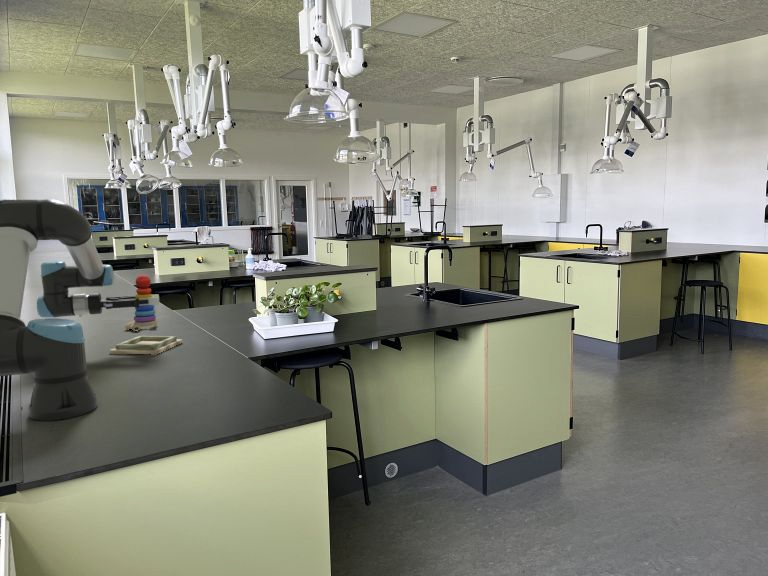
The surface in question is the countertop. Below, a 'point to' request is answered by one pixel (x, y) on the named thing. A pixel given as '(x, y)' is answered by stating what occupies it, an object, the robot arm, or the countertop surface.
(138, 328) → the beige animal figurine
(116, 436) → the countertop surface
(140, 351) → the rimmed tray
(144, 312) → the stacking toy
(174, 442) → the countertop surface
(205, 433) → the countertop surface
